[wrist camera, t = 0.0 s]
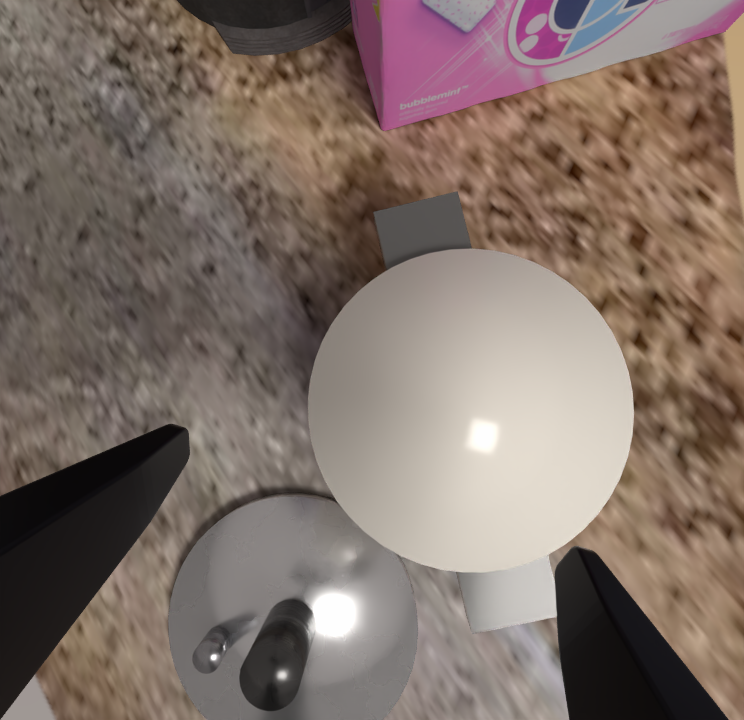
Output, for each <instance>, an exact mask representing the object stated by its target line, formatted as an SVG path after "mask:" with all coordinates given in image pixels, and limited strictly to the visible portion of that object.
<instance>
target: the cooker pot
mask: <svg viewBox="0 0 744 720" xmlns="http://www.w3.org/2000/svg"><path fill="white" fill-rule="evenodd" d="M373 213H374V223H375V227H376V231H377V236H378V240H379V244H380V249H381V253H382V257H383V261H384V266H385V270H386V271H385V272H384V273H382V274H381V275H379V276H377V277H376V278H374V279H373V280H372V281H370V282H369V283H368V284H367V285H366V286H364V287H363V288H362V289H361V290H359V291H358V292H357V293H356V294H355V295H354V296H353V298H352V299H351V300H350V301H349V302H348V303H347V304H346V305H345V306H344V307H343V309H342V310H341V311H340V313H339V314H338V316H337V317H336V318H335V320H334V321H333V322H332V324H331V326H330V328H329V330H328V331H327V333H326V335H325V337H324V339H323V341H322V343H321V346H320V348H319V351H318V353H317V356H316V359H315V362H314V366H313V370H312V374H311V378H310V385H309V394H308V424H309V430H310V437H311V443H312V447H313V450H314V454H315V457H316V461H317V464H318V466H319V468H320V471H321V473H322V475H323V477H324V480H325V482H326V484H327V485H328V487H329V489H330V491H331V492H332V494H333V496H334V497H335V499H336V501H337V502H338V503H339V504H340V506H341V507H342V508H343V509H344V511H345V512H346V513H347V515H348V516H349V517H350V518H351V519H352V520H353V521H354V522H355V523H356V524H357V525H358V526H359V527H360V528H361V529H362V530H363V531H364V532H365V533H367V534H368V535H369V536H370V537H372V538H373V539H374V540H376V541H377V542H378V543H380V544H381V545H382V546H384V547H386V548H388V549H389V550H391V551H393V552H395V553H396V554H398V555H400V556H402V557H405V558H407V559H409V560H412V561H414V562H417V563H419V564H422V565H426V566H430V567H433V568H437V569H441V570H448V571H456V573H457V578H458V582H459V586H460V591H461V595H462V599H463V603H464V608H465V612H466V616H467V619H468V622H469V626H470V629H471V632H472V634H474V633H479V632H484V631H489V630H494V629H499V628H504V627H509V626H514V625H519V624H524V623H529V622H534V621H538V620H543V619H548V618H553V617H557V611H556V593H555V582H554V578H553V573H552V569H551V565H550V561H549V557H548V554H550V553H552V552H553V551H555V550H557V549H558V548H560V547H561V546H563V545H565V544H566V543H568V542H569V541H570V540H571V539H573V538H574V537H575V536H576V535H578V534H579V533H580V532H581V531H582V530H584V528H585V527H586V526H587V525H588V524H589V523H590V522H591V521H592V520H593V519H594V518H595V517H596V516H597V515H598V513H599V512H600V511H601V509H602V508H603V506H604V505H605V504H606V502H607V501H608V499H609V498H610V496H611V495H612V493H613V491H614V489H615V487H616V485H617V483H618V481H619V479H620V477H621V475H622V472H623V469H624V466H625V463H626V461H627V458H628V454H629V449H630V444H631V439H632V433H633V419H634V408H633V392H632V387H631V382H630V377H629V372H628V369H627V366H626V363H625V360H624V357H623V354H622V351H621V349H620V347H619V345H618V343H617V341H616V339H615V337H614V335H613V333H612V331H611V330H610V328H609V327H608V325H607V324H606V322H605V321H604V319H603V318H602V316H601V315H600V313H599V312H598V311H597V310H596V309H595V308H594V306H593V305H592V304H591V303H590V302H589V301H588V300H587V298H586V297H585V296H583V295H582V294H581V293H580V292H579V291H578V290H577V289H575V288H574V287H573V286H572V285H571V284H570V283H568V282H567V281H565V280H564V279H563V278H561V277H560V276H558V275H557V274H555V273H554V272H552V271H550V270H548V269H546V268H544V267H542V266H540V265H538V264H536V263H534V262H532V261H529V260H526V259H524V258H521V257H518V256H515V255H512V254H507V253H503V252H498V251H493V250H483V249H472V248H471V244H470V240H469V236H468V232H467V228H466V224H465V220H464V216H463V212H462V207H461V203H460V199H459V195H458V191H457V192H453V193H449V194H445V195H441V196H437V197H433V198H428V199H424V200H420V201H416V202H412V203H408V204H404V205H400V206H396V207H392V208H388V209H384V210H379V211H375V212H373Z"/></svg>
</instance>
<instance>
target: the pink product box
mask: <svg viewBox="0 0 744 720" xmlns="http://www.w3.org/2000/svg"><path fill="white" fill-rule="evenodd" d="M350 5H351V14H352V24H353V32H354V35H355V39H356V43H357V46H358V50H359V53H360V57H361V61H362V65H363V68H364V72H365V75H366V79H367V83H368V86H369V89H370V92H371V96H372V99H373V102H374V106H375V109H376V113H377V116H378V120H379V123H380V127H381V129H382V130H383V131H386V130H390V129H394V128H397V127H400V126H404V125H407V124H411V123H414V122H418V121H421V120H425V119H428V118H432V117H436V116H440V115H444V114H448V113H451V112H454V111H458V110H461V109H464V108H467V107H470V106H472V105H475V104H479V103H483V102H486V101H490V100H493V99H497V98H502V97H506V96H510V95H513V94H516V93H520V92H523V91H526V90H530V89H533V88H536V87H538V86H541V85H544V84H547V83H551V82H555V81H558V80H561V79H566V78H571V77H574V76H578V75H582V74H585V73H589V72H592V71H595V70H598V69H601V68H603V67H606V66H609V65H612V64H616V63H619V62H623V61H626V60H630V59H634V58H638V57H643V56H646V55H650V54H654V53H657V52H660V51H663V50H666V49H670V48H672V47H675V46H678V45H681V44H684V43H687V42H690V41H694V40H697V39H701V38H704V37H708V36H711V35H715V34H718V33H722V32H726V30H727V29H728V28H729V27H730V26H731V25H732V24H733V23H734V22H735V21H736V20H737V19H738V18H739V17H740V16H741V14H742V13H743V12H744V0H350Z"/></svg>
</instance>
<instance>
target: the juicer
mask: <svg viewBox="0 0 744 720" xmlns="http://www.w3.org/2000/svg"><path fill="white" fill-rule="evenodd" d="M177 1H178V2H179V3H180V4H181V5H182V6H183V7H184V8H185V9H186V10H187V11H189V12H190V13H191V14H193V15H194V16H195V17H197V18H198V19H200V20H202V21H204V22H206V23H208V24H210V25H212V26H214V27H215V28H216V29H217V31H218V32H219V34H220V35H221V37H222V38H223V40H224V41H225V43H226V44H227V46H228V47H229V49H230V50H231V52H232V53H234V54H244V55H255V56H256V55H272V54H281V53H285V52H290V51H294V50H299V49H302V48H305V47H307V46H310V45H312V44H315V43H317V42H320V41H322V40H324V39H326V38H327V37H329V36H331V35H333V34H334V33H336V32H338V31H339V30H341V29H343V28H344V27H345V26H346V25H348V24H349V23H350V22H351V21H352V14H351V5H350V0H177Z"/></svg>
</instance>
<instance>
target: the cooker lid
mask: <svg viewBox="0 0 744 720" xmlns="http://www.w3.org/2000/svg"><path fill="white" fill-rule="evenodd" d="M168 627H169V641H170V649H171V654H172V658H173V662H174V666H175V668H176V671H177V674H178V676H179V679H180V681H181V683H182V685H183V687H184V689H185V691H186V693H187V695H188V696H189V698H190V699H191V701H192V702H193V704H194V705H195V706H196V708H197V709H198V711H199V712H200V713H201V714H202V715H203V716H204V717H205V718H206V719H207V720H383V719H384V718H385V717H386V716H387V715H388V714H389V712H390V711H391V709H392V708H393V707H394V705H395V704H396V702H397V701H398V700H399V698H400V696H401V694H402V692H403V690H404V688H405V686H406V684H407V682H408V679H409V676H410V674H411V671H412V668H413V664H414V659H415V655H416V649H417V639H418V622H417V610H416V603H415V597H414V591H413V588H412V584H411V581H410V577H409V575H408V572H407V570H406V568H405V565H404V563H403V561H402V559H401V557H400V556H399V555H398V554H396V553H395V552H393V551H391V550H389V549H388V548H386V547H384V546H382V545H381V544H380V543H378V542H377V541H376V540H374V539H373V538H372V537H370V536H369V535H368V534H367V533H365V532H364V531H363V530H362V529H361V528H360V527H359V526H358V525H357V524H356V523H355V522H354V521H353V520H352V519H351V518H350V517H349V516H348V515H347V513H346V512H345V511H344V509H343V508H342V507H341V506H340V504H339V503H338V502H337V501H335V500H333V499H330V498H327V497H323V496H319V495H314V494H306V493H282V494H275V495H269V496H266V497H262V498H259V499H255V500H253V501H251V502H248V503H246V504H244V505H242V506H240V507H238V508H236V509H235V510H233V511H232V512H230V513H228V514H227V515H226V516H224V517H223V518H222V519H221V520H219V521H218V522H217V523H216V524H215V525H213V526H212V527H211V528H210V529H209V530H208V531H207V532H206V533H205V534H204V535H203V536H202V537H201V538H200V539H199V540H198V541H197V543H196V544H195V546H194V547H193V548H192V550H191V551H190V553H189V554H188V556H187V558H186V559H185V561H184V563H183V565H182V567H181V569H180V571H179V574H178V576H177V579H176V581H175V584H174V588H173V592H172V596H171V600H170V608H169V616H168Z"/></svg>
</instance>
